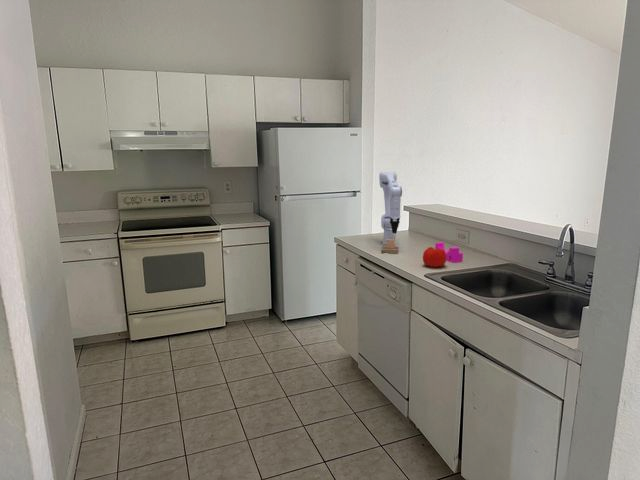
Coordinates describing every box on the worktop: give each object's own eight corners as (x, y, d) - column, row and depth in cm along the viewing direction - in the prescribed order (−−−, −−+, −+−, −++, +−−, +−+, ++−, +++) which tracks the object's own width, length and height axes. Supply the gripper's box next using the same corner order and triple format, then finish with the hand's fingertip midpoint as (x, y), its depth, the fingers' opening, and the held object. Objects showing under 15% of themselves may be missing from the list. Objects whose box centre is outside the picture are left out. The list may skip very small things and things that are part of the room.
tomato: (450, 267, 219) (451, 249, 217) (429, 270, 215) (430, 251, 213) (437, 262, 229) (438, 245, 227) (417, 264, 225) (418, 247, 223)
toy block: (462, 261, 230) (463, 247, 229) (452, 263, 228) (453, 248, 226) (444, 255, 244) (445, 241, 242) (434, 256, 242) (435, 242, 240)
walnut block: (382, 251, 256) (382, 246, 255) (398, 251, 254) (398, 246, 254) (381, 254, 247) (381, 249, 247) (398, 255, 246) (398, 250, 245)
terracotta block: (387, 246, 253) (387, 238, 252) (395, 247, 252) (395, 238, 251) (386, 248, 249) (386, 239, 248) (394, 249, 248) (394, 240, 247)
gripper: (388, 206, 260) (387, 229, 263) (387, 209, 246) (387, 234, 249) (400, 206, 259) (400, 229, 261) (400, 210, 245) (399, 234, 247)
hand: (394, 231), depth 255 cm, fingers open, 7 cm apart
